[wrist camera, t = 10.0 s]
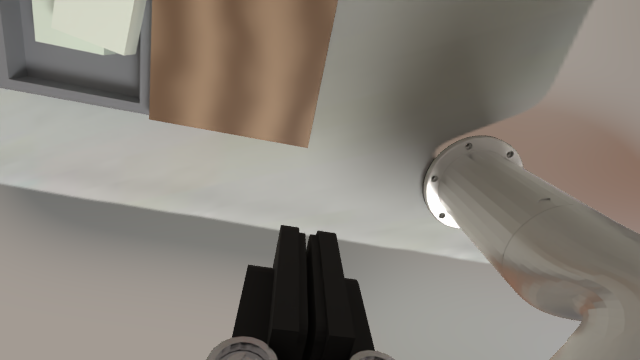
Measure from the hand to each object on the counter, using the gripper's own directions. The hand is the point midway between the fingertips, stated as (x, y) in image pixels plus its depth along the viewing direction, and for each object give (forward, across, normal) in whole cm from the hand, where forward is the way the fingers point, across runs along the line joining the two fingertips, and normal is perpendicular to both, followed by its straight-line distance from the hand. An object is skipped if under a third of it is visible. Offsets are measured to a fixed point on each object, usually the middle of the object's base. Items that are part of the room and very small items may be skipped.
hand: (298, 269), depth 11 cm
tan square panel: (+31, +6, -4) cm, 32 cm away
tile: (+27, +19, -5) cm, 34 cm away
